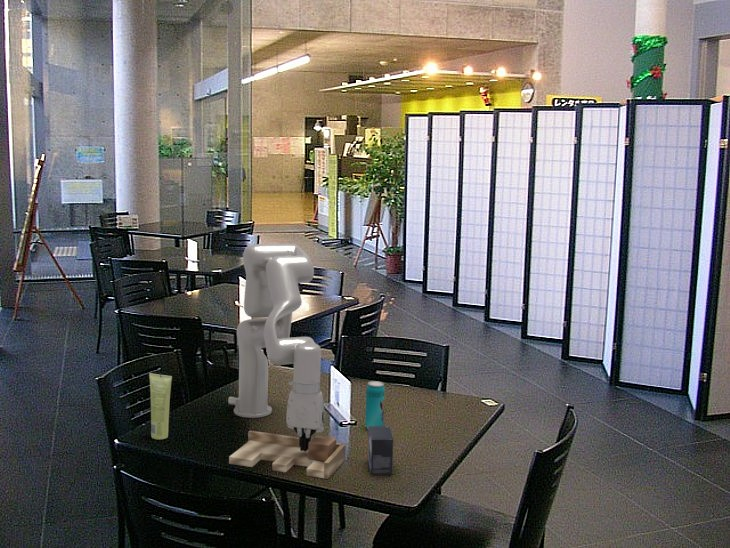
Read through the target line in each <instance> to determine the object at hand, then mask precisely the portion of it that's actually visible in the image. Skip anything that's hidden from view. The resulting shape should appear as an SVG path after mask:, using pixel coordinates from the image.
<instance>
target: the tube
mask: <svg viewBox="0 0 730 548" xmlns="http://www.w3.org/2000/svg"><path fill="white" fill-rule="evenodd" d="M148 376H149V390H150V391H149V392H150V424H151V425H150V426H151V427H150V436H151V438H152V439H154V440H164V439H167V438H168V437H169V420H170V419H169V418H170V402H171V401H170V399H171V390H172V389H171V388H172V381H173V376H172V375H166V374H165V375H164V374H157V373H150V372H149V374H148Z"/></svg>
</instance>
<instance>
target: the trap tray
mask: <svg viewBox="0 0 730 548" xmlns="http://www.w3.org/2000/svg"><path fill="white" fill-rule="evenodd" d="M247 436H248V438H247V442H246V443H244V444H243V445H242V446H241V447H240V448H238V449H237V450H236V451H234V452H233V453H232V454H230V455H229V456H228V464H229V465H235V466H236V465H237V466H241V467H242V466H243V467H249V468H253V467H254V466H255V465H256V464H257V463H259V462H260V461H261V460H262V461H269V462H272V464H271V465H272V467H271V468H272V471H274V472H281V473H287V472H288V471H289V470H290V469H291V468H292V467H293V466H294V465H295V466H302V467H307V468H306V475H305V476H306V477H313V478H318V479H319V478H321V479H326V480H328V479H330V478H331V476H332V475H333V474H334V473H335V472H336V470H338V468H339V467H340V466H341V465H342V463H344V461H345V460H346V452H347V451H346V448H347V444H346V443H339V442H336V450H335V451H334V453H333V454H332V455H331V456H330V457H329V458H328V459H327V460H326V461H325V462H320V461H314V460H308V450H307V451H306V452H305V451H300V447H299V437H298V436H291V435H283V434H278V433H277V434H276V433H272V432H271V433H270V432H264V431H258V430H257V431H256V430H248V432H247ZM312 439H313V438H311V440H312Z"/></svg>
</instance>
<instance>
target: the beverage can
mask: <svg viewBox="0 0 730 548" xmlns="http://www.w3.org/2000/svg"><path fill="white" fill-rule="evenodd" d="M385 390H386V389H385V383H384V382H383V381H379V380H377V381H375V380H372V381H368V382H367V386H366V396H365V426H366V429H367V431H369V426H384V414H385V413H384V412H385V411H384V410H385V392H386V391H385Z"/></svg>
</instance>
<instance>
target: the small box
mask: <svg viewBox="0 0 730 548" xmlns="http://www.w3.org/2000/svg"><path fill="white" fill-rule="evenodd" d="M367 432H368V435H367V462H368V467H369V472H370V475H371V476H373V475H374V476H377V475H380V476H381V475H384V476H385V475H390V476H391V475H393V474H394V473H393V467H394V466H393V465H394V464H393V463H394V462H393V461H394V459H393V458H394V441H395V440H394V435H393V433H392V430H391V427H390V426H389V425H383V426H369V430H367Z"/></svg>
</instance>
